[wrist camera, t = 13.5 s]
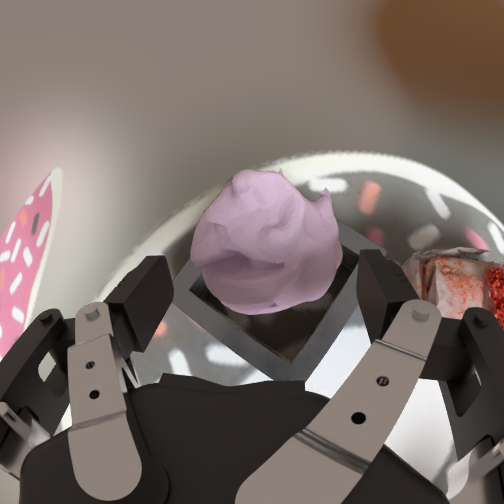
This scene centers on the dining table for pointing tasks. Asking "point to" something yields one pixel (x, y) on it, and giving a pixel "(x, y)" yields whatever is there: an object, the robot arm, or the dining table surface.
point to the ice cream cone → (266, 244)
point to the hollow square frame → (254, 350)
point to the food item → (457, 281)
